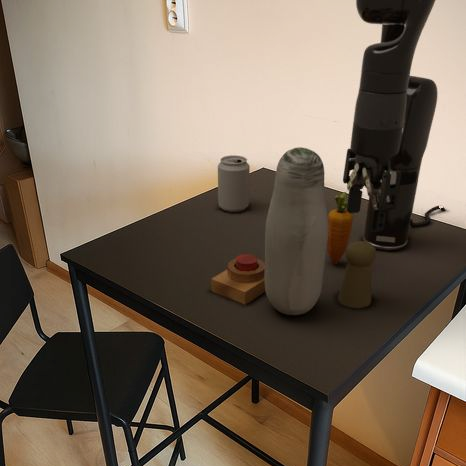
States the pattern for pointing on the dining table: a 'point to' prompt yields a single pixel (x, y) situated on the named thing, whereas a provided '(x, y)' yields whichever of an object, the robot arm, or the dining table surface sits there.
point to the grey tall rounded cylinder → (296, 233)
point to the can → (233, 183)
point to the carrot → (339, 229)
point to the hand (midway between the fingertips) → (364, 221)
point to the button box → (240, 282)
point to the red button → (246, 262)
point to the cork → (357, 275)
